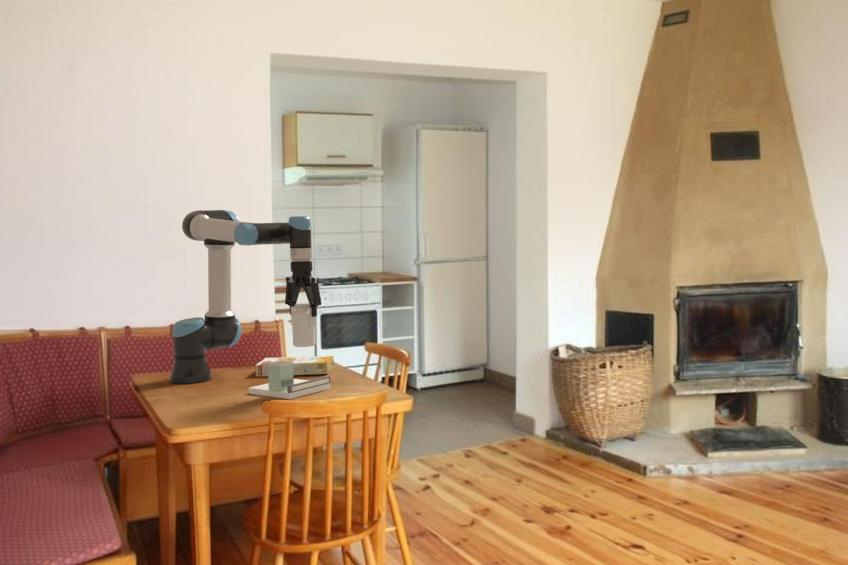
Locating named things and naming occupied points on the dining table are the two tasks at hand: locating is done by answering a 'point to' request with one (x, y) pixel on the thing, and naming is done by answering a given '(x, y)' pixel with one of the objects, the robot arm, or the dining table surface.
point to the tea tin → (280, 375)
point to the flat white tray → (294, 388)
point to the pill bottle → (302, 327)
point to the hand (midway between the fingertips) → (303, 325)
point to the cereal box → (300, 365)
